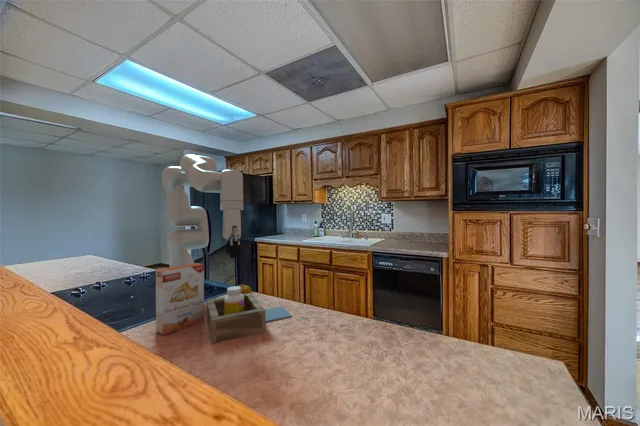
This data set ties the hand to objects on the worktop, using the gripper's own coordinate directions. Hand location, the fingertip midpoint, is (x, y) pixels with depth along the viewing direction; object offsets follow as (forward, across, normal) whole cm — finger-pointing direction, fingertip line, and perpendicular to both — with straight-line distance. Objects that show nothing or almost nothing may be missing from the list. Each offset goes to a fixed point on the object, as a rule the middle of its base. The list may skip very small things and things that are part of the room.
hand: (232, 255), depth 90 cm
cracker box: (+25, -8, -16) cm, 31 cm away
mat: (+24, -2, +15) cm, 29 cm away
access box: (+24, 0, 0) cm, 24 cm away
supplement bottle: (+25, 0, 0) cm, 25 cm away
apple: (+25, -17, +6) cm, 31 cm away
